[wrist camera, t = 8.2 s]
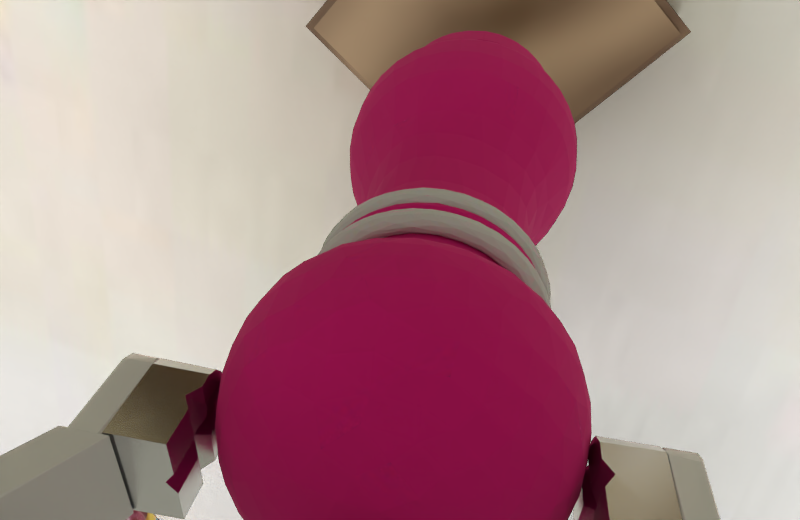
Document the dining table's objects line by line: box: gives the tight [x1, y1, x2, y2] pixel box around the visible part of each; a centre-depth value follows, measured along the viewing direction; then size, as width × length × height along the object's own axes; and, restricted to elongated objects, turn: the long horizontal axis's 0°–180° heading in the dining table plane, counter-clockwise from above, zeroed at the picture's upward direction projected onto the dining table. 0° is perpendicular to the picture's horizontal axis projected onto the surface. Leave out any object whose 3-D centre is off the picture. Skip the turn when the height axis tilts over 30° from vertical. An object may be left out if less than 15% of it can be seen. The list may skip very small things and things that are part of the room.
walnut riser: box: [306, 0, 691, 124], centre depth 33 cm, size 14×14×4 cm
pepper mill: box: [215, 31, 591, 520], centre depth 15 cm, size 7×7×20 cm
